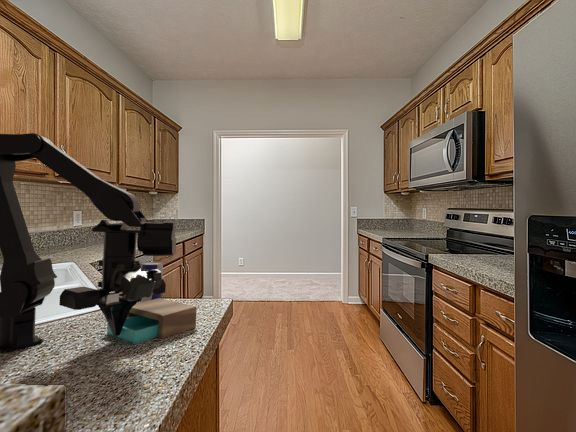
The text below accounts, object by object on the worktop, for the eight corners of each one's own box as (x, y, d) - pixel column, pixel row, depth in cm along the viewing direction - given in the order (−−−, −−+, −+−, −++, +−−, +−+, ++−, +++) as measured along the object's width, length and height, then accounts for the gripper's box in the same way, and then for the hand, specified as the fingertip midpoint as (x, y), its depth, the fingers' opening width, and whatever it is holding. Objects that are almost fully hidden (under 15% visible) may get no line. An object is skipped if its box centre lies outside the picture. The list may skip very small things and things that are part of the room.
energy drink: (143, 312, 86) (145, 265, 86) (136, 308, 90) (138, 262, 90) (164, 309, 89) (166, 263, 89) (157, 305, 93) (158, 261, 93)
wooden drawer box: (124, 326, 75) (125, 305, 75) (159, 317, 83) (159, 298, 83) (162, 338, 69) (163, 315, 69) (195, 327, 76) (196, 306, 76)
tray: (107, 334, 70) (107, 322, 70) (156, 320, 80) (157, 310, 80) (134, 344, 65) (135, 331, 65) (183, 327, 75) (183, 317, 75)
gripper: (95, 263, 55) (91, 361, 54) (185, 255, 71) (182, 331, 70) (59, 257, 60) (56, 346, 60) (150, 251, 76) (147, 321, 76)
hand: (116, 335), depth 67 cm, fingers closed
